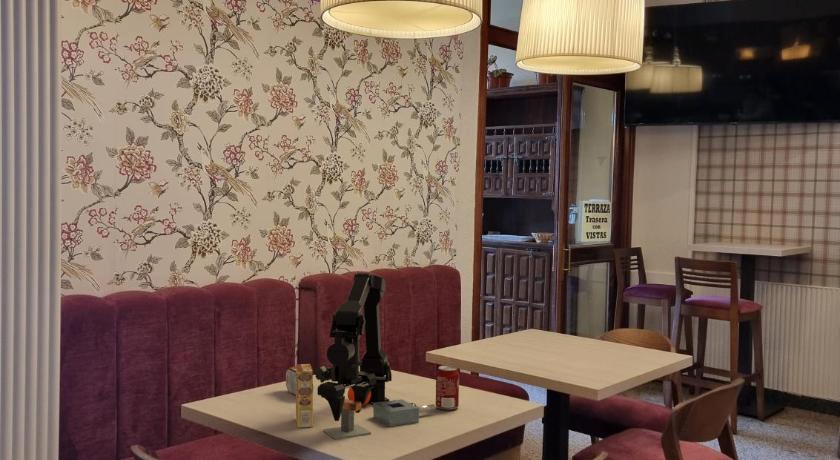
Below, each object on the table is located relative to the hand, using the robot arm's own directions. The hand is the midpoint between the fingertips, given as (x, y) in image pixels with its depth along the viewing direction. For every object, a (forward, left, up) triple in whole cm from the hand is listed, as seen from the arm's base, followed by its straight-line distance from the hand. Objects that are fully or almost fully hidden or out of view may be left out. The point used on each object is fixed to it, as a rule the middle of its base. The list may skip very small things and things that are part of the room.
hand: (347, 416), depth 209 cm
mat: (0, 0, -4) cm, 4 cm away
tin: (-41, +2, -4) cm, 41 cm away
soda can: (-9, +36, -4) cm, 37 cm away
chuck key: (0, 0, -4) cm, 4 cm away
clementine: (-23, +14, -4) cm, 27 cm away
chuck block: (-5, +21, -4) cm, 22 cm away
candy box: (-13, -7, -4) cm, 15 cm away
